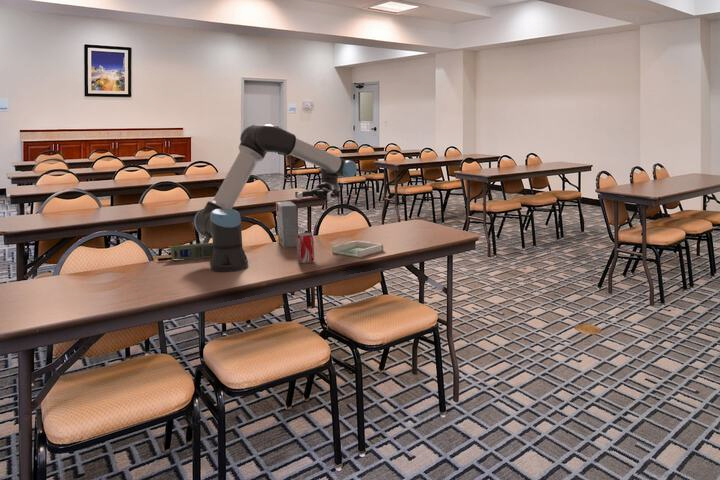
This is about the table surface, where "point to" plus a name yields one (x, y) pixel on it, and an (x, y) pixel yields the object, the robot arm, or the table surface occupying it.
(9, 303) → the table surface
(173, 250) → the handheld radio
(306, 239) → the soda can
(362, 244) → the box
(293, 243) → the hard drive box
